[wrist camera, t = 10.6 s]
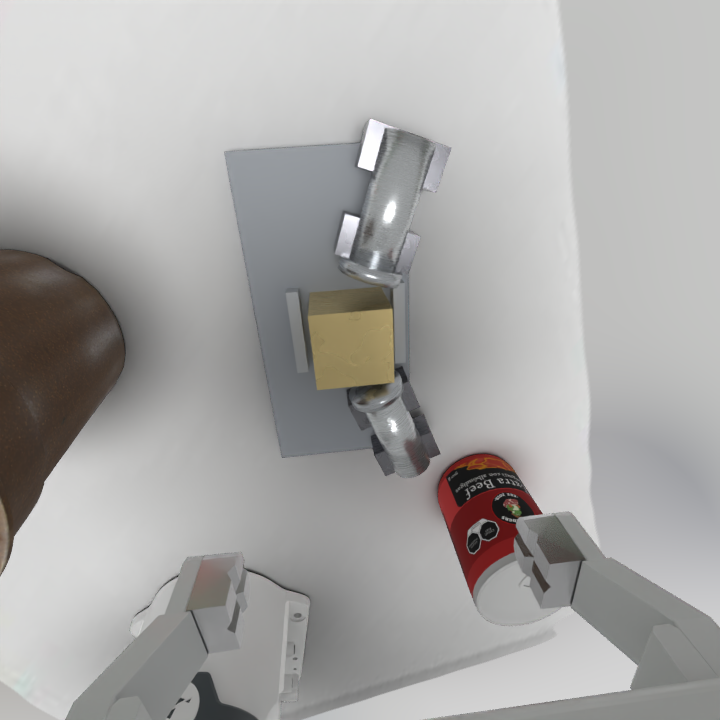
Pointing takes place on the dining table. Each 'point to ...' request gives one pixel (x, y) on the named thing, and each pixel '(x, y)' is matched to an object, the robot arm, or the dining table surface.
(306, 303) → the grey base plate
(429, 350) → the dining table surface
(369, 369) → the golden yellow cube
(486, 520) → the canned food
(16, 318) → the plant pot
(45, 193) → the dining table surface
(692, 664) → the robot arm
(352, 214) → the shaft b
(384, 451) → the shaft
